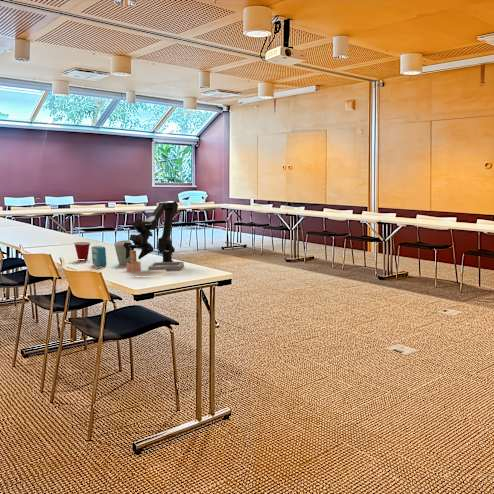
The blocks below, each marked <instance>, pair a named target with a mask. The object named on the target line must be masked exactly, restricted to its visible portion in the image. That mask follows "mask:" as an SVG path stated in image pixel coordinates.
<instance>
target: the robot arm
mask: <svg viewBox="0 0 494 494" xmlns="http://www.w3.org/2000/svg"><path fill="white" fill-rule="evenodd" d="M178 208H179V204H178V203H177V201H173V200H172V201H169V200H168V201H160V202H158V205H157V206H156V208H155V209H154V211H153V212H152V214H151V215H150V217H148V218H146V219H145V220H143V219H142V218H138V219H136V220H135V221H133V222H132V226H133V228H134V229H135V231H137V233H138V234H130V236H129V241H130V242H131V241H132V242H131V243H129V242H125V243H124V245H123V246H124V247H125V249H126V259H127V258H128V257H129V256H130V251H133V250H135V249H138V250H141V251H140V253H139V255H138V258H137V259H138V260H141V259H143V258H144V257H146V256H147V255H148V254H151V253H153V251H155V250H154V247H153V246H152V244H151V242H149V238H150V237H153V233H152V231H155V230H156V229H157V226H158V225H159V224H158V221H159V219H160V218H161V217H162V215H163V213H165V217H164V224H163V230H162V236H161V237H159V238H158V241H157V248H158V249H157V250H158V252H159V253H161V254H162V261H161V262H174V259H173V257H172V255H173V253H175V250H176V249H175V247H174V246H173V244H172V243H173V242H172V241H173V240H172V238H171V234H172V229H173V221H174V216H175V214H176V213H177V212H178Z"/></svg>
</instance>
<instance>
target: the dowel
mask: <svg viewBox="0 0 494 494" xmlns="http://www.w3.org/2000/svg"><path fill="white" fill-rule="evenodd" d="M130 263H137V251H136V250H135V249H134V250H133V251H130Z"/></svg>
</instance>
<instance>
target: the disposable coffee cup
mask: <svg viewBox="0 0 494 494" xmlns="http://www.w3.org/2000/svg"><path fill="white" fill-rule="evenodd" d="M125 242H129V243H131V244H132V242H131V240H118V241H115V243H114V248H115V249H114V250H115V253H116V257H117V261H118V264H119V265H123V266H124V265H125V266H127V265H126V263H127V262H130V256H129V257H128V258H127V259H126V249H125V247H124V246H123V245H124V243H125Z"/></svg>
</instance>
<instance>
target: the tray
mask: <svg viewBox="0 0 494 494" xmlns="http://www.w3.org/2000/svg"><path fill="white" fill-rule="evenodd" d="M184 265H185V264H184V261H173V262H162V261H160V262H159V261H158V262H157V261H156V262H153V263H151V264H150V265H149V266H148V267H147V268H148V271H153V270H154V271H155V270H159V271H160V270H165V271H166V272H167V271H169V272H170V271H180V270H181V269H182V268H183V267H185V266H184Z"/></svg>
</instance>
